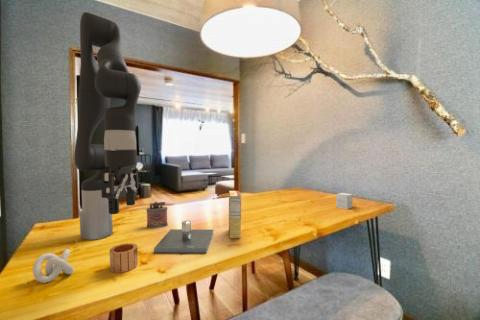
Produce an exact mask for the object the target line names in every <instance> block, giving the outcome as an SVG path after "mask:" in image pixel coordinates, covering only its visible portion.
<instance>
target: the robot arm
mask: <svg viewBox="0 0 480 320" xmlns="http://www.w3.org/2000/svg"><path fill="white" fill-rule="evenodd" d="M79 37H80V38H79V39H80V41H79V42H80V71H79V83H78V85H79V86H78V114H77V115H78V119H77V120H78V121H77V131H76V138H75V146H74V154H73V155H74V159H73V160H74V164H75V167H76V169H77V170H79V171H82V172H84V171H86V172H87V171H96V172H95V174H94V175H93V176H90V178H87V179H84V180H83V181H82V182H81V185H80V187H81V188H80V189H81V209H82V210H80V211H79V233H80V234H79V235H80V239H84V240H88V241H89V240H94V241H95V240H98V239H99V240H101V239H105V238H107V237H109V236H111V235H112V234H113V231H114V229H113V224H114V223H113V215H118V214H119V213H120V199H119V197H120V194H121V192H122V191H123V190H124V189H125V201H126V203H125V204H126V206H135V204H136V192H137V189H139V187H140V182H139V169H138V168H137V167H136V166H137V164H138V159H137V158H138V155H137V153H138V152H137V151H138V150H137V135H136V126H135V125H136V124H135V120H136V119H135V115H136V108H137V103H138V101H139V97H140V93H141V91H142V90H141V89H142V83H141V81H140V79H139V77H138V75H136V74H135V73H132V72H128V71H129V70H128V66H127V63H126V61H125V58H124V55H123V43H122V35H121V29H120V26H119V25H118V24H117V23H116V22H115V21H112V20H110V19H107V18H106V17H102V16H99V15H97V14H93V13H91V12H87V11H85V12H83V13H82V15H81V17H80V24H79ZM93 47H96V48H99V49H98V51H97V54H96V57H95V54H94V49H93ZM111 99H116V100H123V101H124V100H125V102H124V104H123V105H120V106H111ZM103 120H104V137H103V143H104V144H103V143H102V144H100V143H99V144H96V143H95V144H93V143H92V139H93V135H94V132H95V130H96V129H97V127H99V124H100V123H101V122H102V121H103ZM133 167H134V168H133ZM135 167H136V168H135Z"/></svg>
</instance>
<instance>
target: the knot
mask: <svg viewBox="0 0 480 320" xmlns="http://www.w3.org/2000/svg"><path fill="white" fill-rule="evenodd" d="M70 254H71V250H70V249H69V248H67V249H66V248H65V249H64V250H63V252H62V254H61V256H60V257H59V256H58V255H57V254H54V253H52V252H51V253H50V252H48V253H43V254H40V256H39V257H37V259H35V261H34V263H33V266H32V274H33V277H34V279H35V280H36V281H37V282H38V283H43V284H45V283H46V284H47V282H48V283H51V282H53V281H54V280H55V279H56V278H57V277H58V276H59V275H60V273H61V272H62V273H63V274H65V275H72V274H73V273H74V270H75V269H74V267H73V265H72V264H70V263H69V262H68V261H67V259H68V258H69V255H70ZM45 261H46V262H45ZM43 262H45V269H44V270H45V271H44V272H45V274H46V275H44V273H43V272H42V264H43Z"/></svg>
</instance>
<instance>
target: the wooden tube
mask: <svg viewBox="0 0 480 320" xmlns="http://www.w3.org/2000/svg"><path fill="white" fill-rule="evenodd" d="M138 252H139V251H138V244H136V243H133V242H127V243H125V242H124V243H120V244H116V245H114V246H112V247H111V248H110V249H109V271H110V272H111V273H114V274H122V273H126V272H129V271H132V270H134V269H136V268H137V267H138V265H139V260H138V259H139V258H138Z"/></svg>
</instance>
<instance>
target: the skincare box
mask: <svg viewBox="0 0 480 320" xmlns="http://www.w3.org/2000/svg"><path fill="white" fill-rule="evenodd" d="M353 198H354V197H353V193H346V192H339V193H336V199H335V200H336V206H335V207H336V208H339V209H344V210H350V209H352V208H353V201H354V200H353Z"/></svg>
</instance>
